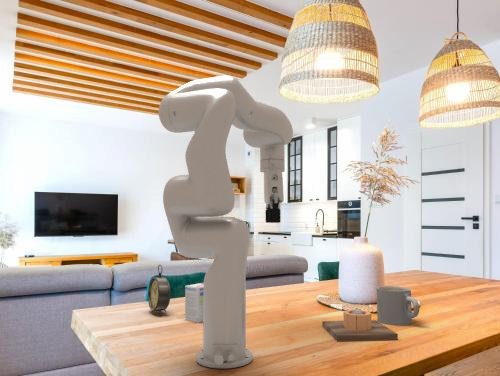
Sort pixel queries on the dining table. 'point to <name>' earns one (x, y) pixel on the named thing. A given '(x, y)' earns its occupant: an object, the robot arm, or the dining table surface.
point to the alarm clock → (159, 293)
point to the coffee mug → (395, 305)
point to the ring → (357, 320)
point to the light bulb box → (194, 302)
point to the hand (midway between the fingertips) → (272, 222)
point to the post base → (343, 334)
